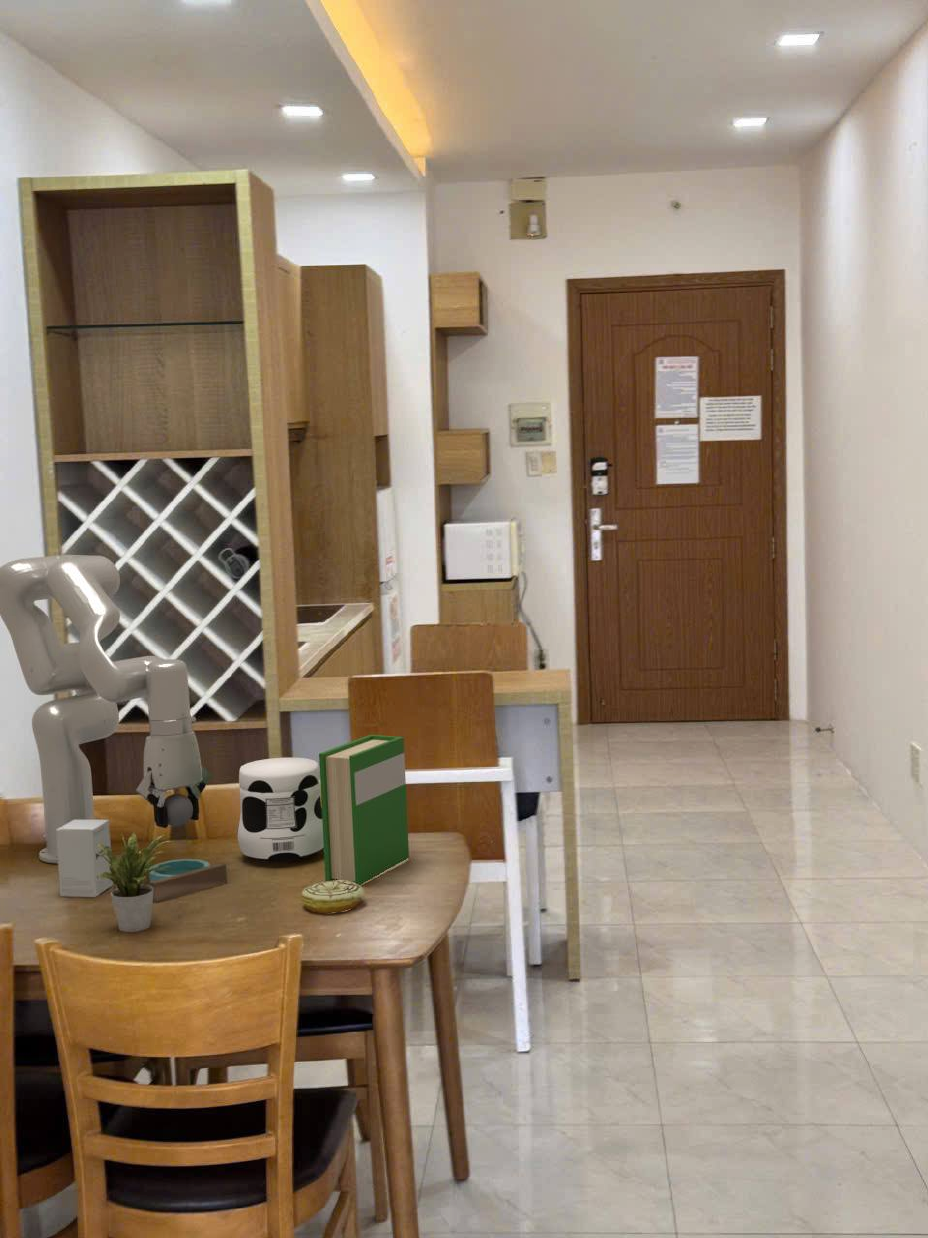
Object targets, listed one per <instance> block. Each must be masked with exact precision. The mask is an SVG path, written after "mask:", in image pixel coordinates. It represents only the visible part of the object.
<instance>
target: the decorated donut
mask: <svg viewBox="0 0 928 1238" xmlns="http://www.w3.org/2000/svg"><path fill="white" fill-rule="evenodd" d="M365 897H366V893H365V890H364V888H363V886H359V885H358V884H356V883H355V882H354V881H348V880H338V879H337V880H334V881H322V882H316V883H314V884H311V885H308V886H306V887H304V888H303V890H302V892H301V902H302V904H303V906H304V907H305V908H306V910H309V911H310V912H312V911H313V912H312V913H315V912H319V913H318V914H323V913H332V912H338V913H342V912H341V911H345V910H349V909H352V908H353V909H355V908H357V906H358V905H359V904H361V902H363V901H364V900H365ZM354 907H355V908H354ZM353 909H352V910H353ZM349 911H350V910H349Z"/></svg>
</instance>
